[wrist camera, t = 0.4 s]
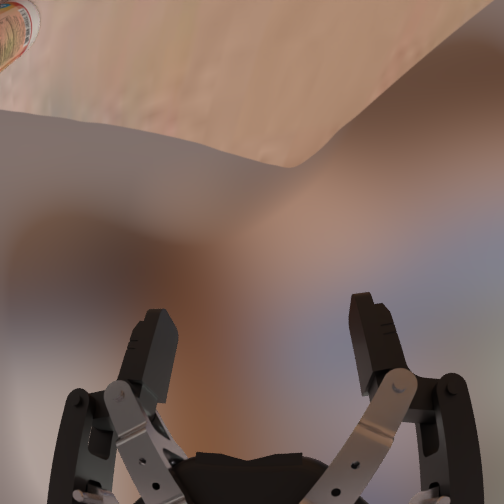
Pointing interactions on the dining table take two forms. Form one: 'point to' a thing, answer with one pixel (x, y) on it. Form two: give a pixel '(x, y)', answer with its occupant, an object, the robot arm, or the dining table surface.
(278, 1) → the dining table surface
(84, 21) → the dining table surface
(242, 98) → the dining table surface
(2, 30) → the fruit juice
